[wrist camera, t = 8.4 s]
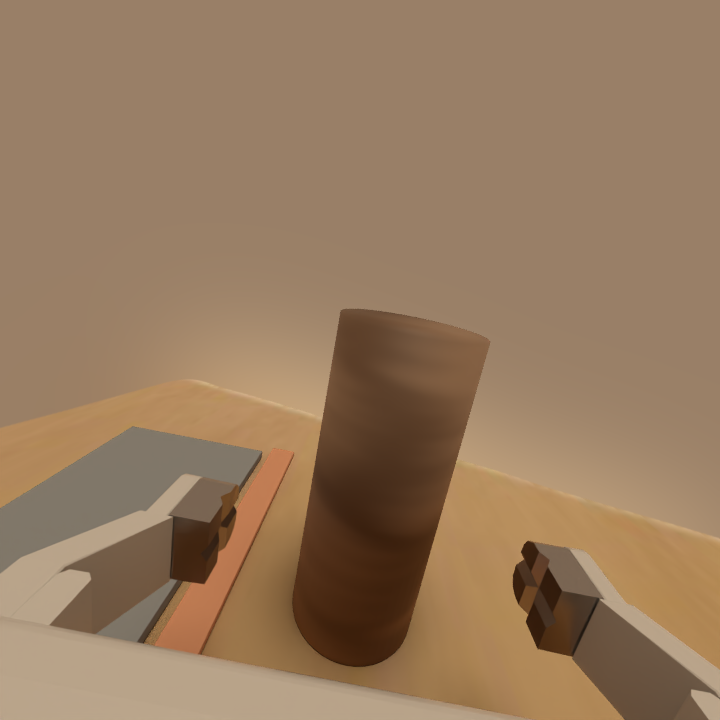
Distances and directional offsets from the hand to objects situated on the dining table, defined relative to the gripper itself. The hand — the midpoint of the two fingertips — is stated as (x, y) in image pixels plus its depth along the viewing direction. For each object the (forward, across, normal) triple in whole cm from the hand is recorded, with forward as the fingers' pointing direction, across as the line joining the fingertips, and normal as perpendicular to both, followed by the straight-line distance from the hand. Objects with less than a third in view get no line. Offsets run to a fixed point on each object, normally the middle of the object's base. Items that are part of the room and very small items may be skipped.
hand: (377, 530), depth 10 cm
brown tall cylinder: (+3, 0, +7) cm, 7 cm away
